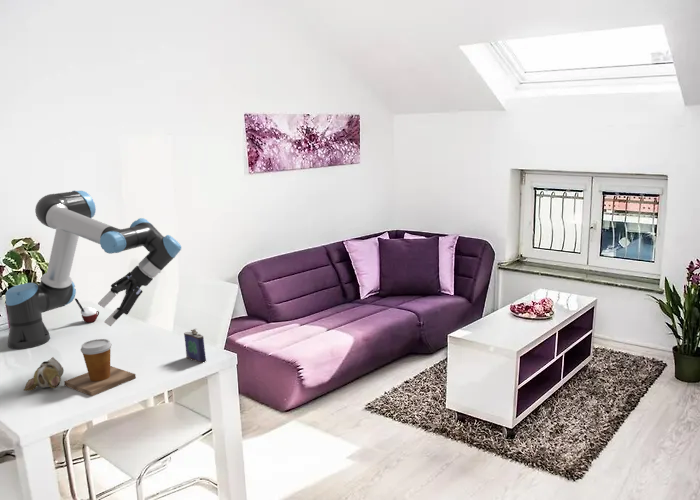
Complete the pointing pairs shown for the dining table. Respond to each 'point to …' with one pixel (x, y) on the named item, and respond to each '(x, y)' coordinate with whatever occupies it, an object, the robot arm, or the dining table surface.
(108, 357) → the disposable coffee cup
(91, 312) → the cocoa
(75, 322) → the dining table surface
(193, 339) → the flask
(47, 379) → the ceramic sculpture
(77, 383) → the walnut board
